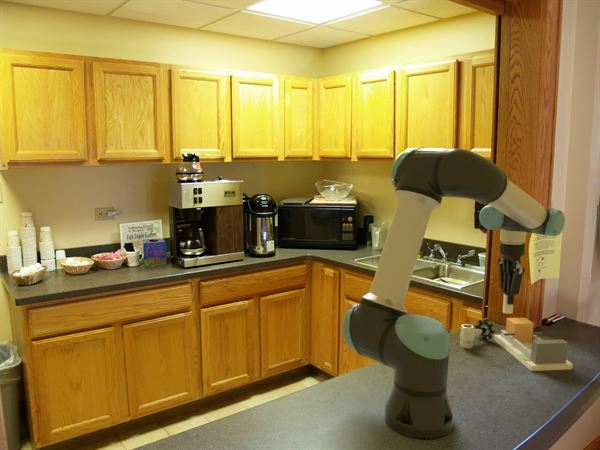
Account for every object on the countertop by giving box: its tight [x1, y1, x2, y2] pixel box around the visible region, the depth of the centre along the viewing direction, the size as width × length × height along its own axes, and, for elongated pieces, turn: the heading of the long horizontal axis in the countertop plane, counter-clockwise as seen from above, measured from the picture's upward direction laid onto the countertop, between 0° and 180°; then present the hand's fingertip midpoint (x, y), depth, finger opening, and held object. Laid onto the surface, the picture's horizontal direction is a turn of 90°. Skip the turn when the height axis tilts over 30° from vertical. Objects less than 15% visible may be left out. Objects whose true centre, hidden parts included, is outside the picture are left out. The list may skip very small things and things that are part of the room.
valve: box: [459, 319, 496, 349], centre depth 157 cm, size 7×7×12 cm
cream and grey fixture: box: [493, 329, 574, 372], centre depth 149 cm, size 12×22×8 cm, turn 5°
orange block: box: [504, 317, 544, 342], centre depth 156 cm, size 12×5×6 cm, turn 95°
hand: (507, 312), depth 163 cm, fingers closed
